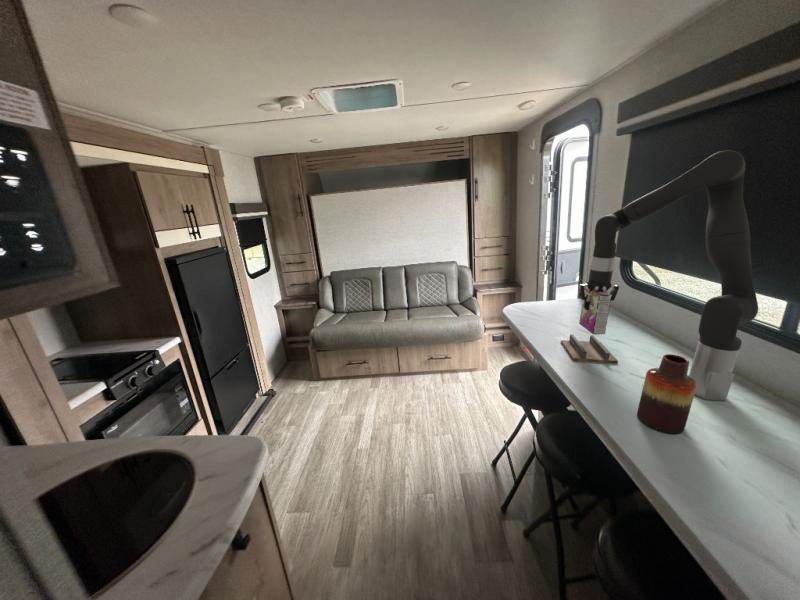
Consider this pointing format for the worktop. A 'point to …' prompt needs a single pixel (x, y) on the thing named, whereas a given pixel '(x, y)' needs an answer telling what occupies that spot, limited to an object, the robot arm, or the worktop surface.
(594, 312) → the candy bar box
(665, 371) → the vase
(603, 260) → the robot arm
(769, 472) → the worktop surface
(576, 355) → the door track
